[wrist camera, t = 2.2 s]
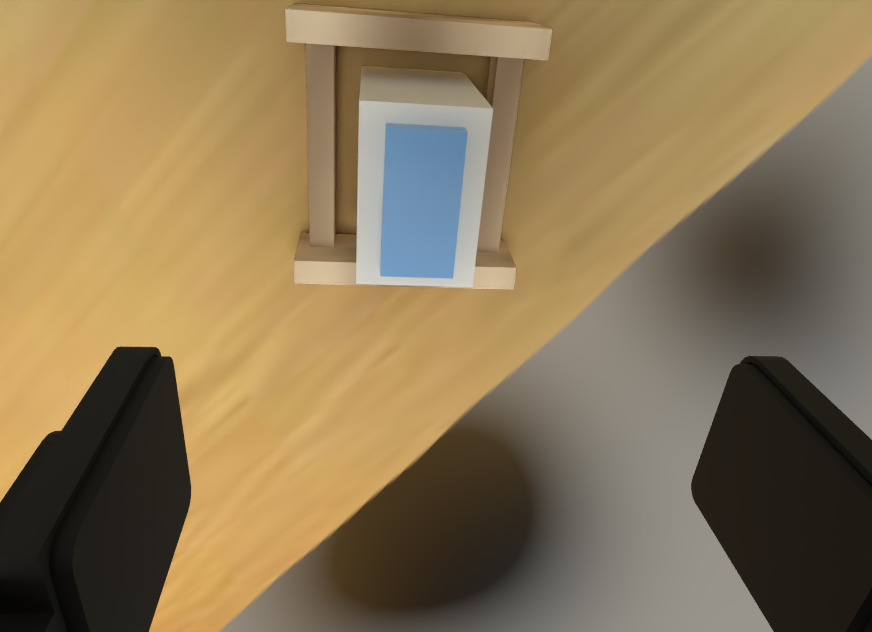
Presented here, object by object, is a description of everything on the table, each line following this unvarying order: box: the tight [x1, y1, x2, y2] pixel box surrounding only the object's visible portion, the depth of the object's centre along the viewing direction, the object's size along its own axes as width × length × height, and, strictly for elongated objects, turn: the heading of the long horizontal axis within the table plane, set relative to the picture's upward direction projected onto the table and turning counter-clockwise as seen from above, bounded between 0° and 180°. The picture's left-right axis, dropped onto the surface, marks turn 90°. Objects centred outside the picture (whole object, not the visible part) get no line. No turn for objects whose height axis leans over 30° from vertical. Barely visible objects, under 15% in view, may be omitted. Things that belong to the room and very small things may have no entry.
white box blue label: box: [356, 66, 493, 287], centre depth 23 cm, size 4×6×8 cm, turn 176°
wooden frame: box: [285, 3, 553, 290], centre depth 25 cm, size 9×10×3 cm
